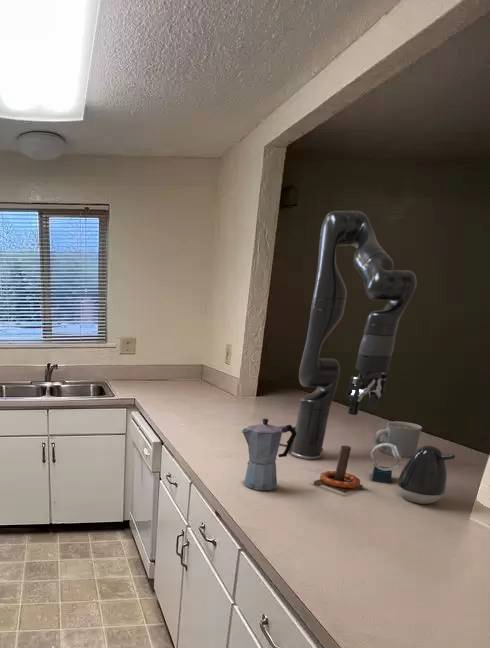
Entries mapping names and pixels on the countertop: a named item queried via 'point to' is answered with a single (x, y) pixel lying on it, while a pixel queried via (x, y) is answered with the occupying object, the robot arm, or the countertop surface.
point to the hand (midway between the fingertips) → (361, 412)
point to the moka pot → (264, 453)
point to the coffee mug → (400, 437)
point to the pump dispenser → (424, 475)
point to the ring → (354, 481)
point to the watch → (385, 472)
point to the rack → (340, 471)
